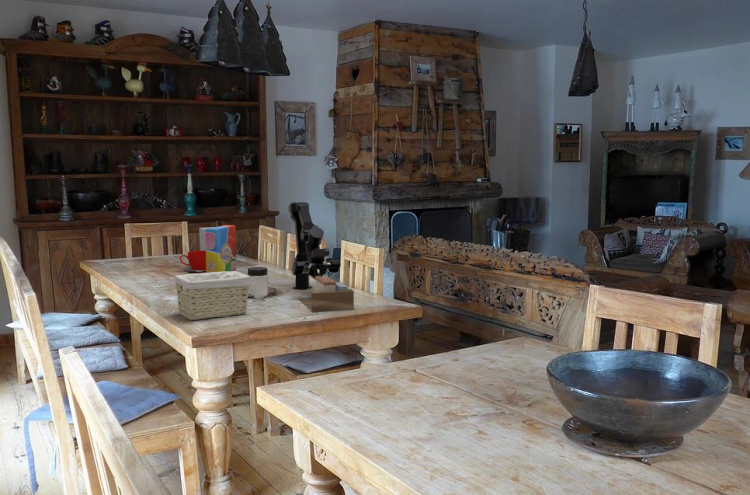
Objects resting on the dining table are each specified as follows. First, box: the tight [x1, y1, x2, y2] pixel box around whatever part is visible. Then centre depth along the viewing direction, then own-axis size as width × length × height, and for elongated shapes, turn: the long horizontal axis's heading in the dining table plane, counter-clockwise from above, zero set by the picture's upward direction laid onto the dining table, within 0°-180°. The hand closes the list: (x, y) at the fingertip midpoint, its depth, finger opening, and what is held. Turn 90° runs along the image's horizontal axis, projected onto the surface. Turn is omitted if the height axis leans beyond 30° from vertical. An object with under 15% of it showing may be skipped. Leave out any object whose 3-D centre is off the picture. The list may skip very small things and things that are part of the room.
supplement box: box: [198, 226, 215, 251], centre depth 390 cm, size 13×13×18 cm
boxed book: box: [314, 275, 337, 293], centre depth 259 cm, size 14×4×10 cm, turn 19°
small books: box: [335, 281, 353, 291], centre depth 256 cm, size 10×5×8 cm, turn 19°
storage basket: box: [174, 270, 250, 321], centre depth 245 cm, size 24×16×15 cm
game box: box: [205, 224, 237, 273], centre depth 299 cm, size 21×6×27 cm, turn 168°
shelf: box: [297, 289, 355, 313], centre depth 259 cm, size 25×16×8 cm, turn 19°
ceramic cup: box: [179, 250, 206, 271], centre depth 340 cm, size 13×17×10 cm
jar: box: [247, 266, 269, 300], centre depth 277 cm, size 9×8×12 cm
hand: (320, 284), depth 265 cm, fingers closed, pressing on boxed book
